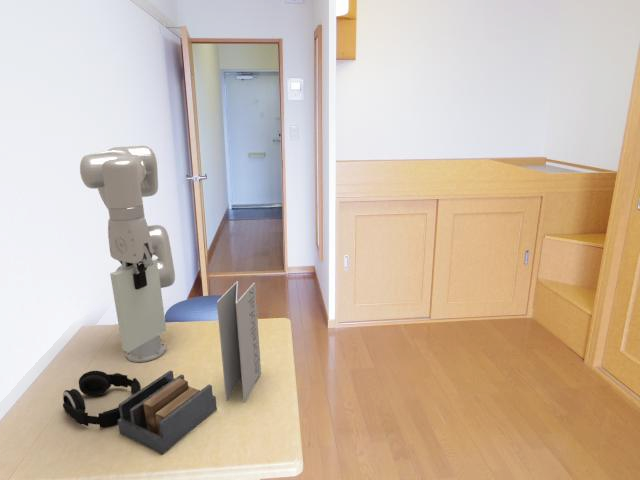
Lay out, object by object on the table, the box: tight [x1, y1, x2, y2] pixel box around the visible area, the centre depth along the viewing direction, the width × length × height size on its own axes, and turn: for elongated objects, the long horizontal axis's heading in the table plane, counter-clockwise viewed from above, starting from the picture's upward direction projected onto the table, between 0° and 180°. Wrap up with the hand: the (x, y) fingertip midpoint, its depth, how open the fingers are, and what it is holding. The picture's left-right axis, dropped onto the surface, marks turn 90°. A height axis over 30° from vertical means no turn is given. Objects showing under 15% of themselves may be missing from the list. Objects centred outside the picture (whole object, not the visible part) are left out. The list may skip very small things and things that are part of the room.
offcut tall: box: [143, 378, 189, 436], centre depth 120 cm, size 3×12×9 cm, turn 151°
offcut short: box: [155, 386, 201, 436], centre depth 118 cm, size 3×12×8 cm, turn 151°
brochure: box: [216, 280, 262, 404], centre depth 131 cm, size 14×6×30 cm, turn 168°
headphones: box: [62, 370, 142, 429], centre depth 126 cm, size 18×8×20 cm
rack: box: [117, 370, 218, 455], centre depth 120 cm, size 15×19×8 cm
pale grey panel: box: [109, 257, 167, 353], centre depth 114 cm, size 2×12×20 cm, turn 151°
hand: (137, 286), depth 113 cm, fingers closed on pale grey panel, 2 cm apart
